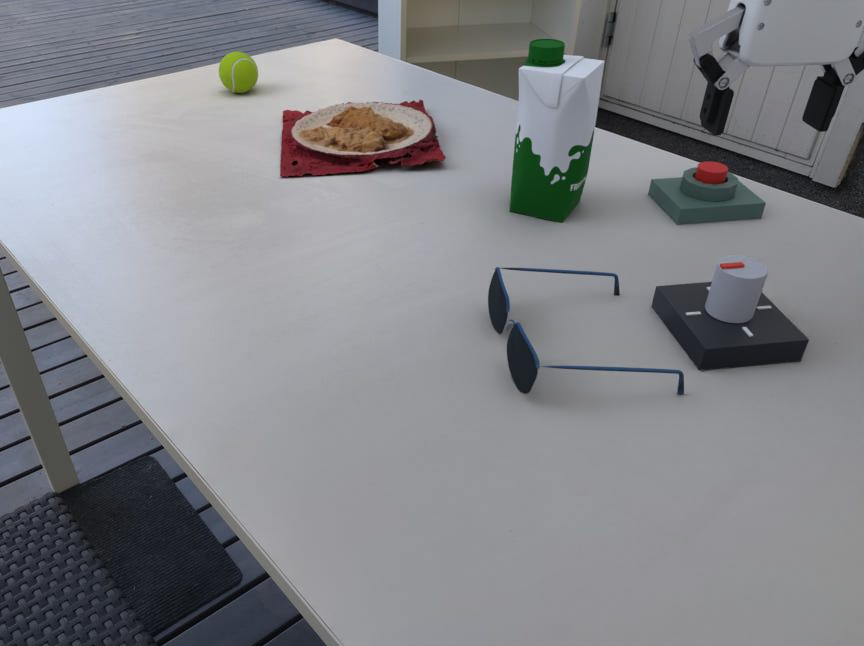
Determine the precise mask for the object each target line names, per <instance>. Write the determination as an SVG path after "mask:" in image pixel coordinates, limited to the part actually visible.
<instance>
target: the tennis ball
mask: <svg viewBox="0 0 864 646" xmlns="http://www.w3.org/2000/svg"><path fill="white" fill-rule="evenodd" d="M218 76H219V79H220V82H221V83H222V85H223V86H224V87H225V88H226V89H227V90H228V91H230V92H232V93H234V94H235V93H236V94H244V93H247V92H249V91H251V90H252V89H253V88H254V87H255V86H256V84H257V83H258V79H259V70H258V65H257V62H255V60H254V58H253V57H252V56H250V54H248V53H245V52H244V51H232V52H229V53H227V54H226V55H224V56H223V58H222V59H221V60H220V62H219V66H218Z"/></svg>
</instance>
